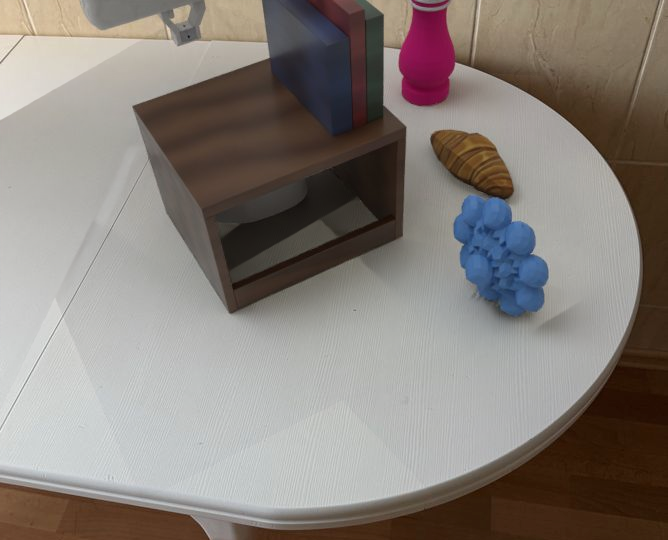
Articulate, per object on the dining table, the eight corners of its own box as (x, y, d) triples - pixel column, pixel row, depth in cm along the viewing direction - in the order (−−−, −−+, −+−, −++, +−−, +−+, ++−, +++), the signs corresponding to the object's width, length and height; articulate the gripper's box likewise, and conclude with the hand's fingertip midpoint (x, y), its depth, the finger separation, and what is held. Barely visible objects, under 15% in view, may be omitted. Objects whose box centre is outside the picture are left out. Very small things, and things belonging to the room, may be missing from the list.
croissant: (410, 155, 86) (412, 120, 82) (453, 134, 88) (457, 98, 84) (485, 215, 79) (490, 180, 75) (530, 191, 81) (538, 155, 77)
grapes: (420, 285, 73) (426, 196, 63) (467, 254, 75) (480, 164, 66) (503, 354, 67) (523, 267, 57) (551, 319, 69) (578, 229, 60)
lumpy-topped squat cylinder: (316, 199, 82) (310, 136, 75) (212, 238, 79) (195, 176, 72) (280, 150, 87) (271, 88, 81) (181, 185, 84) (163, 123, 78)
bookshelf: (166, 212, 82) (96, -5, 62) (324, 150, 87) (307, -69, 67) (229, 314, 72) (171, 95, 52) (402, 236, 77) (411, 11, 57)
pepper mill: (386, 92, 94) (387, -69, 78) (424, 70, 96) (433, -90, 80) (425, 115, 90) (435, -48, 74) (463, 91, 93) (481, -72, 77)
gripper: (241, -128, 74) (257, 3, 85) (50, -79, 68) (94, 54, 79) (267, -107, 70) (280, 26, 81) (69, -54, 65) (112, 81, 76)
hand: (187, 40), depth 80 cm, fingers closed
